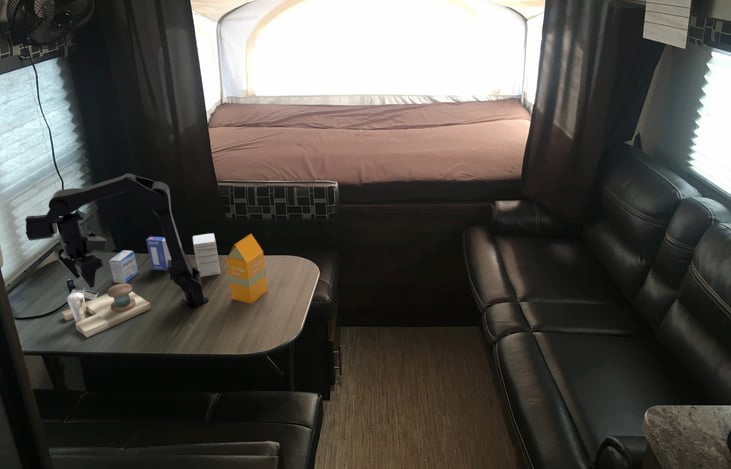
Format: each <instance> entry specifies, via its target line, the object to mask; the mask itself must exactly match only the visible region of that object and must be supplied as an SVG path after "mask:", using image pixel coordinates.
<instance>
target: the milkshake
mask: <svg viewBox="0 0 731 469" xmlns="http://www.w3.org/2000/svg"><path fill="white" fill-rule="evenodd" d="M82 290H83V291H82V292H73V293H70V294H69V295H68V296H67V297H66V300H67V304H68V306H69V309H71V310H72V313H73V316H74V318H73V319H74V321H75V323H77V322H79V321H82V320H84V319H86V318H88V312H87V313H86V307H85V303H86V301H85V300H86V299H85V295H84V293H85V290H86V289H85V287H83V289H82Z"/></svg>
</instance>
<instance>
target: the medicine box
mask: <svg viewBox="0 0 731 469" xmlns="http://www.w3.org/2000/svg"><path fill="white" fill-rule="evenodd" d="M108 262H109V267H110V270H111V275H112V277H113V278H112V279H113V282H114V283H116V284H128V283H129V281H130V280H132V279H133V278H134V277H135V276H136V275H137V274H139V269H138V265H137V261H136V256H135V251H133V250H125V249H124V250H121V251H120V252H118V254H116V255H115V256H114V257H112V258H110V260H108Z"/></svg>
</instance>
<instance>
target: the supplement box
mask: <svg viewBox="0 0 731 469" xmlns="http://www.w3.org/2000/svg"><path fill="white" fill-rule="evenodd" d="M192 243H193V250H194V256H195V261H196V269H197V270H198V271H200V278H202V277H208V276H214V275H215V276H216V275H219V274H221V268H220V263H219V261H220V260H219V255H218V250H217V249H218V248H217V242H216V238H215V234H214V232H213V233H205V234H198V235H193V236H192Z"/></svg>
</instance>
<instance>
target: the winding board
mask: <svg viewBox="0 0 731 469" xmlns="http://www.w3.org/2000/svg"><path fill="white" fill-rule="evenodd" d="M129 297H130V298H133V299H135V302H136V304H135V306H134V307H133V308H131V309H129V310H127V311H123V312H115V311H113V310H112V309H111V304H112V303H113V302H114V298H113V297H110V296H108V293H105V294H103V295H100V296H99V297H96V298H94V299H90V300H88V301H85V307H86V313H87V314H88V313H89V314H91V315H92V316H89V317H87V318H86V319H84V320H82V321H79V322H77V323H76V322H75V329H76V330H77V331H78V332H79V333H81V334H82V335H84V336H85V337H86V338H89V337H92V336H94V335H96V334H98V333H100V332H102V331H105V330H107V329H109V328H111V327H113V326H116V325H118V324H120V323H122V322H125V321H127V320H129V319H132V318H133V317H135V316H138V315H140V314H142V313H145V312H147V311H149V310H151V309H152V308H151V307H152V305H151V303H150V302H149V301H148V300H145V299H144V298H143V297H141V296H140V295H138V294H137V293H135V292H133V291H132V292H131V293H129ZM61 314H62V318H63V319H64V320H65V321H67V322H68V321H71V320H72V319H73V320H74V319H75V318H74V316H73V313H72V310H71V308H69V309H66V310H64V311H62V312H61Z"/></svg>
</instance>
